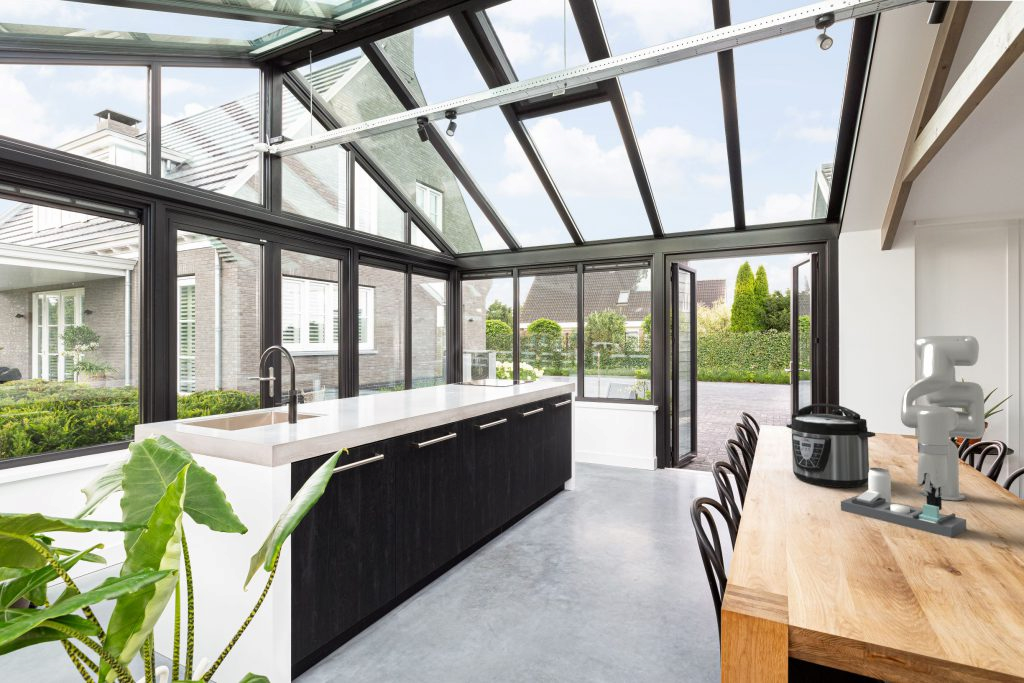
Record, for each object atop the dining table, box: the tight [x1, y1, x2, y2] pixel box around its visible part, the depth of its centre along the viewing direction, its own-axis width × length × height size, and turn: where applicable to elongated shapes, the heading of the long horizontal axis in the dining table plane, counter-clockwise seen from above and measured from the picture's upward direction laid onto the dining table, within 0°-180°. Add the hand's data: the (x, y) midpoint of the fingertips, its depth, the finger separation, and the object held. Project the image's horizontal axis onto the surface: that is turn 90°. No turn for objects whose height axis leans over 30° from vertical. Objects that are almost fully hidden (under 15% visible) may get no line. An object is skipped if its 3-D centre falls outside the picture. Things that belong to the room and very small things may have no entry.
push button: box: [890, 503, 910, 515], centre depth 166 cm, size 5×5×4 cm
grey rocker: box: [856, 489, 881, 503], centre depth 174 cm, size 8×4×1 cm, turn 123°
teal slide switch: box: [919, 503, 943, 522], centre depth 157 cm, size 4×5×4 cm
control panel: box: [840, 495, 967, 539], centre depth 166 cm, size 12×30×4 cm, turn 33°
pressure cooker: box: [786, 403, 876, 488], centre depth 213 cm, size 30×28×32 cm
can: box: [867, 467, 892, 503], centre depth 183 cm, size 6×6×12 cm
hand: (934, 508), depth 159 cm, fingers closed
